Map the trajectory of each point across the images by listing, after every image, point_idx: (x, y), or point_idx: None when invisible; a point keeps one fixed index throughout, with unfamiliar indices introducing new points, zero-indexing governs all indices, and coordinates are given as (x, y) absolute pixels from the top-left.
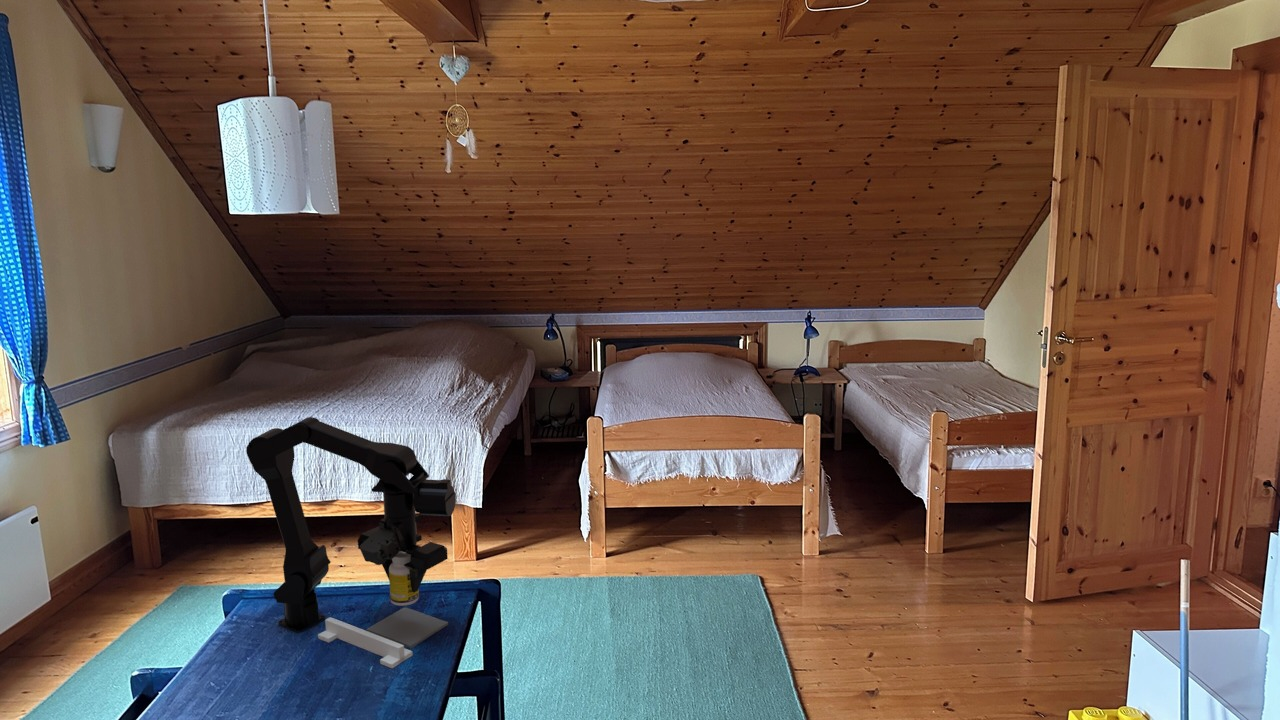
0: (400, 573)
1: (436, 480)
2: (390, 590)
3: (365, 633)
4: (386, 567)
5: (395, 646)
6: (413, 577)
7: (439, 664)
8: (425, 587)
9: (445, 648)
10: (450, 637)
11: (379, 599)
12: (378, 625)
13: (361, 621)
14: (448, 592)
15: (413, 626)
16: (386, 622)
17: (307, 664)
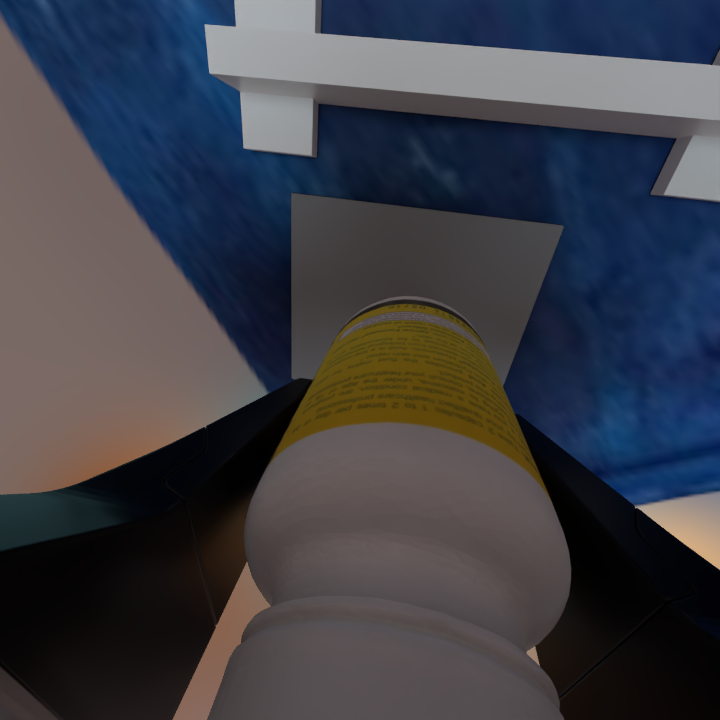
0: (312, 450)
1: None
2: (466, 341)
3: (495, 70)
4: (619, 534)
5: (237, 34)
6: (188, 439)
7: (122, 144)
8: None
9: (193, 251)
10: (233, 315)
11: (626, 433)
12: (522, 273)
13: (627, 285)
14: None
15: None
16: (500, 305)
17: None
